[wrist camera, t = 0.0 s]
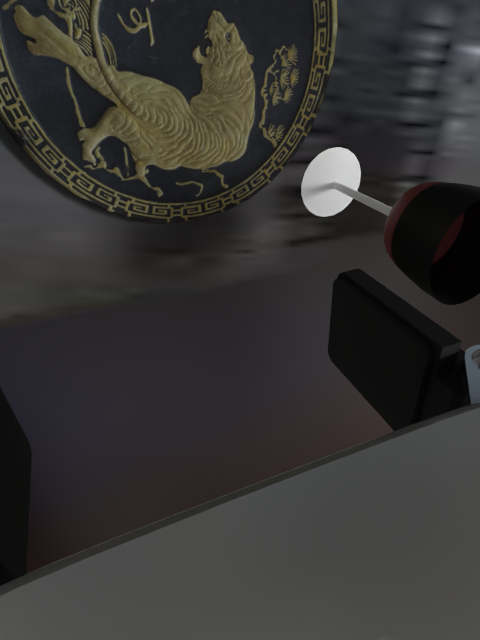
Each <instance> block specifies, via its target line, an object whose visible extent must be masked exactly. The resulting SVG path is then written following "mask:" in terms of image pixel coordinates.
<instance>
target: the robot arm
mask: <svg viewBox="0 0 480 640" xmlns="http://www.w3.org/2000/svg"><path fill="white" fill-rule="evenodd" d="M461 343H462V341H460V340H459V339H458V338H456V337H455V336H453V335H452V334H451V333H449V332H448V331H446V330H445V329H444V328H442V327H441V326H439V325H438V324H436V323H435V322H434V321H432V320H431V319H430V318H428V317H427V316H425V315H424V314H422V313H421V312H420V311H418V310H417V309H415V308H414V307H413V306H411V305H410V304H408V303H407V302H406V301H404V300H403V299H401V298H400V297H399V296H397V295H396V294H394V293H393V292H392V291H390V290H389V289H387V288H386V287H385V286H383V285H382V284H380V283H379V282H377V281H376V280H375V279H373V278H372V277H371V276H369V275H368V274H366V273H365V272H364V271H362V270H360V269H354V270H350V271H347V272H343V273H340V274H339V275H338V278H337V279H335V281H334V283H333V294H332V306H331V319H330V333H329V345H328V353H329V356H330V359H331V361H332V362H333V363H334V364H335V366H336V367H337V368H338V369H339V370H340V371H341V372H342V373H343V374H344V376H345V377H346V378H347V379H348V380H349V381H350V382H351V383H352V384H353V386H354V387H355V388H356V389H357V390H358V391H359V392H360V393H361V394H362V396H363V397H364V398H365V399H366V400H367V401H368V402H369V403H370V404H371V406H372V407H373V408H374V409H375V410H376V411H377V412H378V413H379V415H380V416H381V417H382V418H383V419H384V420H385V421H386V422H387V423H388V425H389V426H390V427H391V428H392V429H393V430H394V432H391V433H388V434H386V435H383V436H380V437H378V438H375V439H372V440H370V441H367V442H364V443H362V444H359V445H356V446H354V447H351V448H349V449H346V450H343V451H340V452H338V453H335V454H332V455H330V456H327V457H325V458H322V459H319V460H317V461H314V462H311V463H309V464H306V465H304V466H301V467H298V468H296V469H293V470H290V471H288V472H285V473H283V474H280V475H277V476H274V477H272V478H269V479H267V480H264V481H262V482H259V483H256V484H254V485H251V486H248V487H246V488H243V489H240V490H238V491H235V492H233V493H230V494H227V495H225V496H222V497H219V498H217V499H214V500H212V501H209V502H207V503H204V504H201V505H199V506H196V507H194V508H191V509H189V510H186V511H183V512H181V513H178V514H176V515H173V516H171V517H168V518H165V519H163V520H160V521H158V522H155V523H152V524H150V525H147V526H145V527H142V528H139V529H137V530H134V531H132V532H129V533H127V534H124V535H121V536H119V537H116V538H114V539H111V540H109V541H106V542H104V543H101V544H99V545H96V546H94V547H91V548H89V549H87V550H84V551H81V552H79V553H76V554H74V555H71V556H69V557H67V558H64V559H62V560H59V561H57V562H54V563H52V564H49V565H47V566H44V567H42V568H39V569H37V570H35V571H33V572H30V573H28V574H26V570H27V548H28V525H29V504H30V482H31V460H32V458H31V457H32V453H31V447H30V444H29V441H28V439H27V437H26V435H25V434H24V432H23V430H22V428H21V426H20V424H19V422H18V420H17V418H16V416H15V414H14V412H13V411H12V409H11V407H10V405H9V403H8V401H7V399H6V397H5V395H4V393H3V391H2V390H1V388H0V640H480V345H475V346H473V347H471V348H469V349H468V350H467V351H466V352H464V351H463V350H461V349H460V346H461Z"/></svg>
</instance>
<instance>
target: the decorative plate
mask: <svg viewBox="0 0 480 640" xmlns="http://www.w3.org/2000/svg"><path fill="white" fill-rule="evenodd" d="M336 34H337V0H0V119H1V121H2V122H3V124H4V125H5V126H6V128H7V129H8V131H9V132H10V134H11V135H12V137H13V138H14V139H15V141H16V142H17V144H18V145H19V146H20V147H21V148H22V149H23V150H24V151H25V152H26V153H27V154H28V155H29V156H30V157H31V158H32V159H33V160H34V161H35V162H36V163H37V164H38V165H39V166H40V167H41V168H42V169H43V170H44V172H45V173H46V174H48V175H49V176H51V177H52V178H53V179H55V180H56V181H57V182H59V183H60V184H61V185H63V186H64V187H66V188H67V189H68V190H70V191H71V192H72V193H74V194H75V195H77V196H78V197H80V198H82V199H84V200H86V201H88V202H90V203H93V204H95V205H97V206H99V207H101V208H103V209H105V210H107V211H109V212H113V213H116V214H120V215H123V216H127V217H130V218H134V219H137V220H144V221H156V222H167V223H172V222H181V221H190V220H199V219H202V218H205V217H209V216H212V215H215V214H218V213H222V212H225V211H227V210H229V209H231V208H233V207H235V206H236V205H238V204H240V203H242V202H244V201H246V200H248V199H250V198H251V197H252V196H254V195H255V194H256V193H257V192H259V191H260V190H261V189H262V188H264V187H265V186H266V185H268V184H269V183H270V182H271V181H273V180H274V178H275V177H276V176H277V175H278V174H279V173H280V172H281V171H282V169H283V168H284V167H285V166H286V165H287V164H288V163H289V162H290V160H291V159H292V158H293V157H294V155H295V154H296V152H297V151H298V149H299V147H300V146H301V144H302V143H303V141H304V139H305V138H306V136H307V135H308V133H309V132H310V130H311V127H312V125H313V123H314V120H315V118H316V116H317V113H318V111H319V109H320V107H321V104H322V102H323V99H324V96H325V92H326V88H327V84H328V81H329V77H330V73H331V70H332V66H333V58H334V50H335V42H336Z"/></svg>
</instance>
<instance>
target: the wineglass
mask: <svg viewBox="0 0 480 640" xmlns="http://www.w3.org/2000/svg"><path fill="white" fill-rule="evenodd" d="M360 176H361V171H360V165H359V162H358V160H357V158H356V156H355V155H354V154H353V153H352V152H350V151H349V150H348V149H344V148H340V147H336V148H330V149H327V150H325V151H324V152H322V153H320V154H319V155H318V156H317V157H316V158H315V159H314V160H313V161H312V162H311V163H310V165H309V166H308V168H307V170H306V171H305V174H304V177H303V180H302V187H301V195H302V199H303V202H304V205H305V206H306V207H307V209H308V210H309V211H310V212H312V213H313V214H315V215H317V216H323V217H326V216H331V215H335V214H336V213H338V212H340V211H342V210H343V209H344V208H345V207H346V206H347V205H348V204H349V203H350V202H351V201H352V199H353V198H354V199H356V200H358V201H360V202H362V203H364V204H366V205H368V206H370V207H372V208H374V209H376V210H378V211H380V212H382V213H384V214H386V215H388V219H387V221H386V225H385V231H384V242H385V247H386V250H387V253H388V255H389V257H390V258H391V260H392V261H393V262H394V264H395V265H396V266H397V267H398V268H399V269H400V270H401V271H402V272H403V273H404V274H405V275H406V276H407V277H408V278H409V279H410V280H411V281H413V282H414V283H415V284H416V285H417V286H418V287H419V288H420V289H422V290H423V291H424V292H426V293H427V294H429V295H430V296H432V297H433V298H435V299H436V300H438V301H439V302H441V303H443V304H447V305H455V304H460V303H463V302H465V301H468V300H469V299H471V298H473V297H475V296H476V295H478V294H479V293H480V187H477V186H472V185H466V184H457V183H445V182H428V183H423V184H420V185H417V186H415V187H413V188H411V189H410V190H408V191H407V192H406V193H405V194H404V195H402V196H401V198H400V199H399V200H398V201H397V202H396V203H395V205H394V206H393V208H392V207H390V206H387V205H385V204H383V203H381V202H379V201H377V200H375V199H372V198H370V197H368V196H366V195H364V194H362V193H360V192H357V190H358V187H359V184H360Z"/></svg>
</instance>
